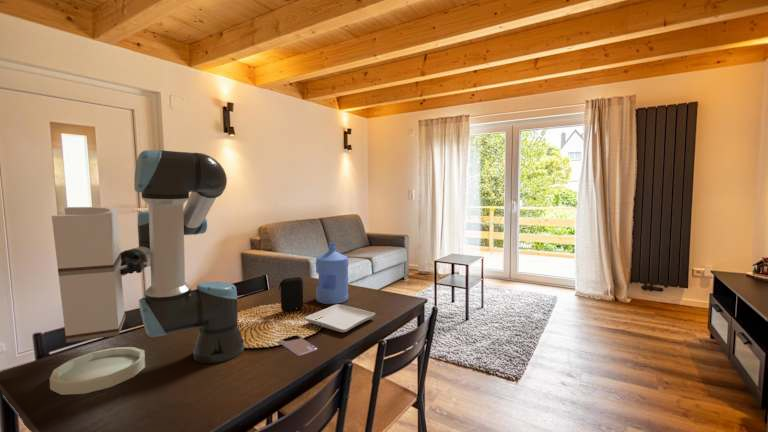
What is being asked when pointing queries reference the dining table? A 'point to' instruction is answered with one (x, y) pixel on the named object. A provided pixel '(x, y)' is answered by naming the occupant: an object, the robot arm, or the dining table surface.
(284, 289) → the black rounded block
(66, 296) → the tall seamed cream box
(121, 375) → the round tray
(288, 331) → the dining table surface
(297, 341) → the mobile phone
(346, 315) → the salad plate
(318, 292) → the water jug
